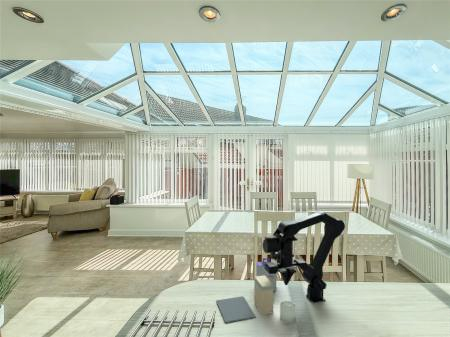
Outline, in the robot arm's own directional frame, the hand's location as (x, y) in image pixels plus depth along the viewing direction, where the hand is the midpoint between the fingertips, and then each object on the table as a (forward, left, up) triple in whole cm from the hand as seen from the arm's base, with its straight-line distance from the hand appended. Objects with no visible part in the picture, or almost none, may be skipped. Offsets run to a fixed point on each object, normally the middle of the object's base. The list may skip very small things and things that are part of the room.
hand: (285, 284), depth 117 cm
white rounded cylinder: (+5, +10, -9) cm, 14 cm away
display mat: (+23, -2, -9) cm, 25 cm away
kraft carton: (+11, 0, -9) cm, 14 cm away
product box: (+3, -15, -9) cm, 18 cm away
